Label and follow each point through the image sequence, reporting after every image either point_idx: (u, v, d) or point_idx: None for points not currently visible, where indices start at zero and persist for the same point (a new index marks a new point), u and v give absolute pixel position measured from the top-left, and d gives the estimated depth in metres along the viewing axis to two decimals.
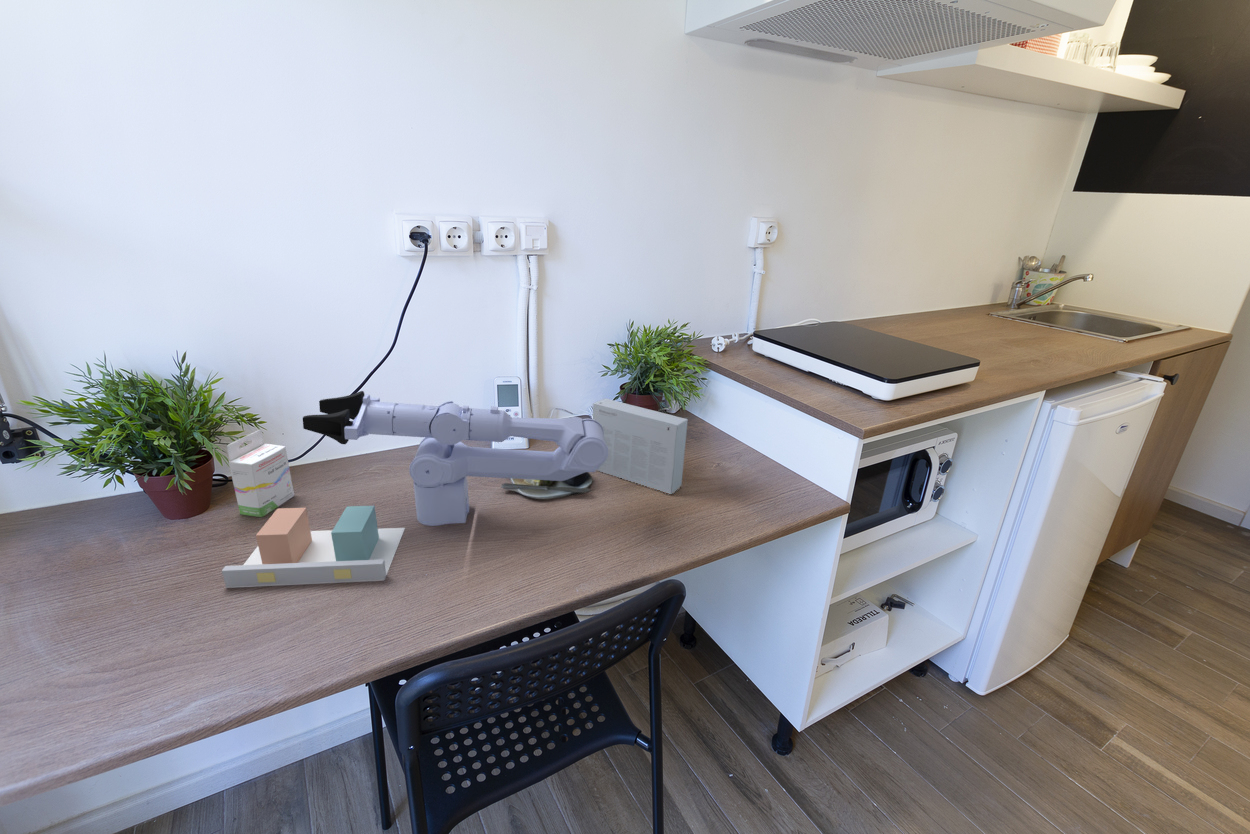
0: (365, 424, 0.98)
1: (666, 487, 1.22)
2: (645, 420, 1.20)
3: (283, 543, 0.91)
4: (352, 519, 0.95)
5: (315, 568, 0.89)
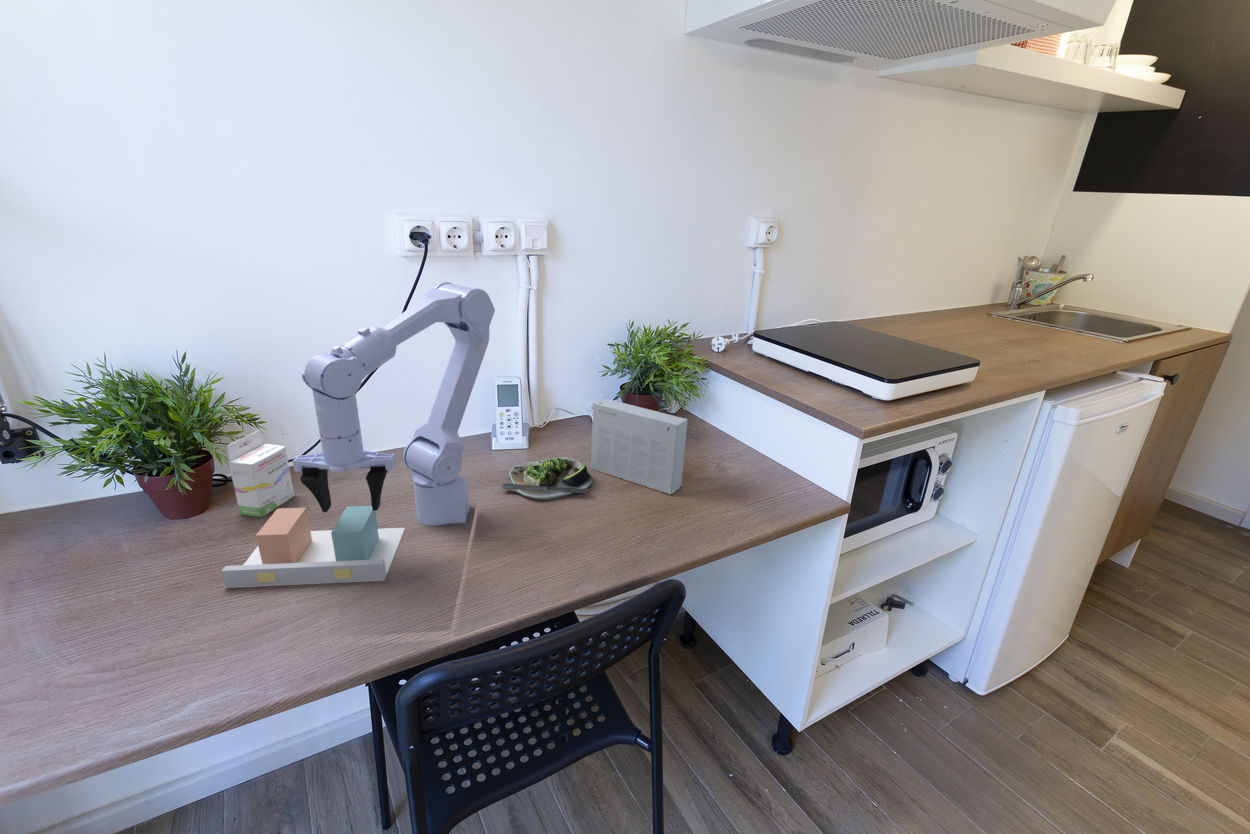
0: (363, 455, 0.92)
1: (666, 487, 1.22)
2: (645, 420, 1.20)
3: (283, 543, 0.91)
4: (352, 519, 0.95)
5: (315, 568, 0.89)
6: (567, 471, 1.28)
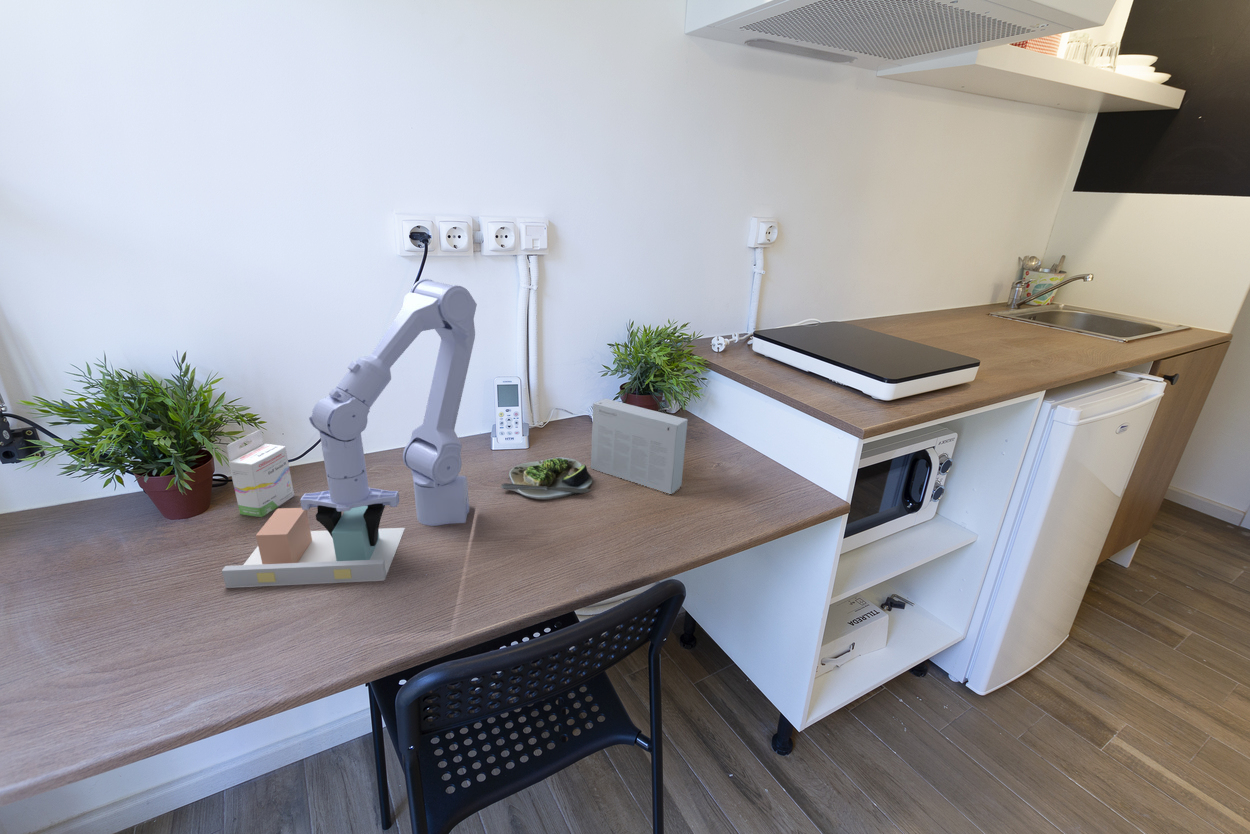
0: (368, 493, 0.94)
1: (666, 487, 1.22)
2: (645, 420, 1.20)
3: (283, 543, 0.91)
4: (353, 519, 0.95)
5: (315, 568, 0.89)
6: (567, 471, 1.28)
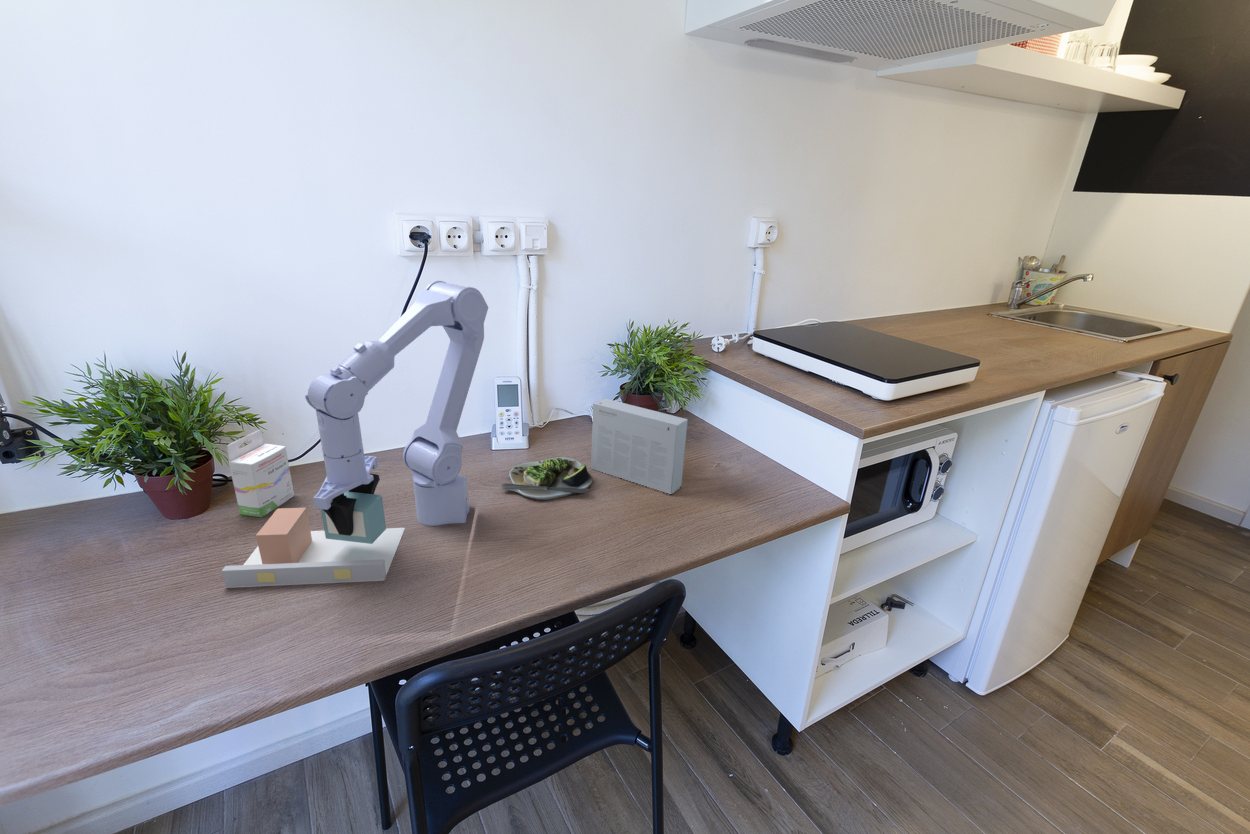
0: None
1: (666, 487, 1.22)
2: (645, 420, 1.20)
3: (283, 543, 0.91)
4: None
5: (315, 568, 0.89)
6: (567, 471, 1.28)
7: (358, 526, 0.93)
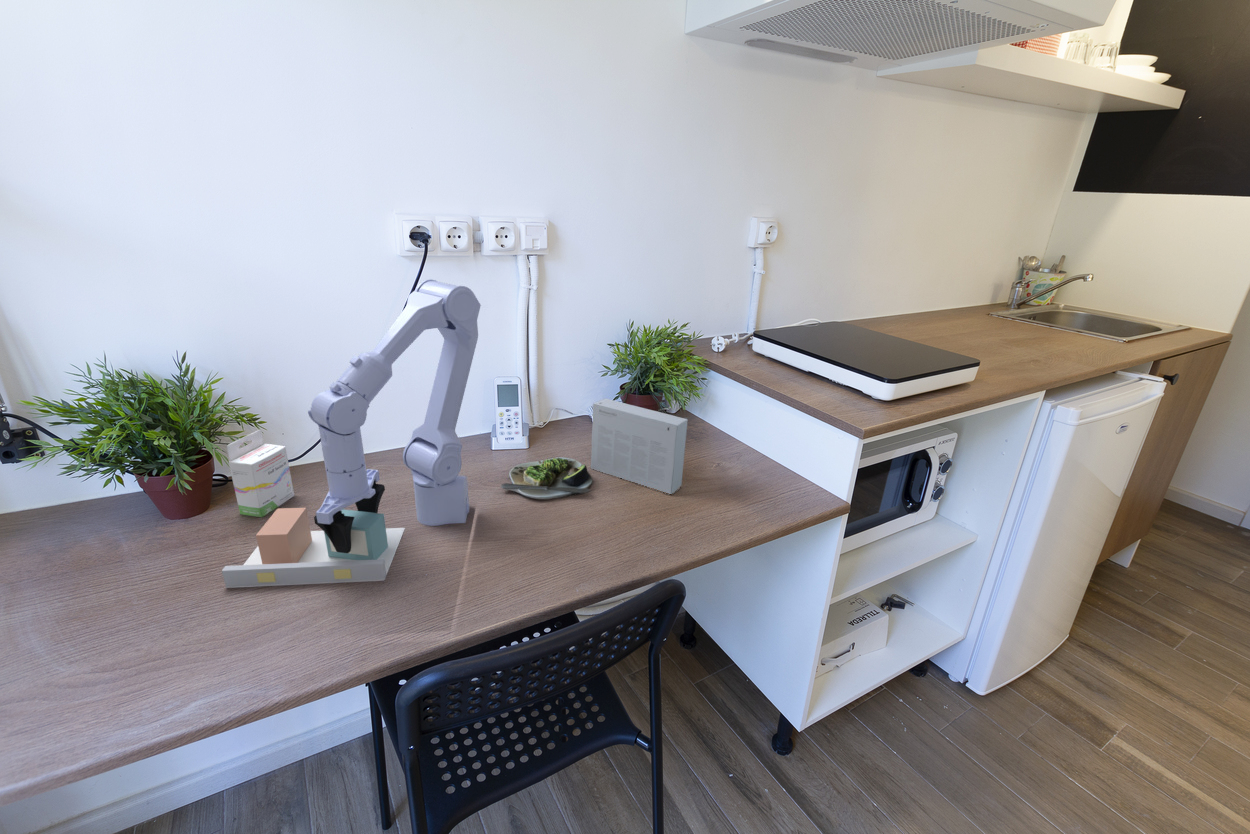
0: None
1: (666, 487, 1.22)
2: (645, 420, 1.20)
3: (283, 543, 0.91)
4: (354, 518, 0.95)
5: (315, 568, 0.89)
6: (567, 471, 1.28)
7: (360, 545, 0.94)
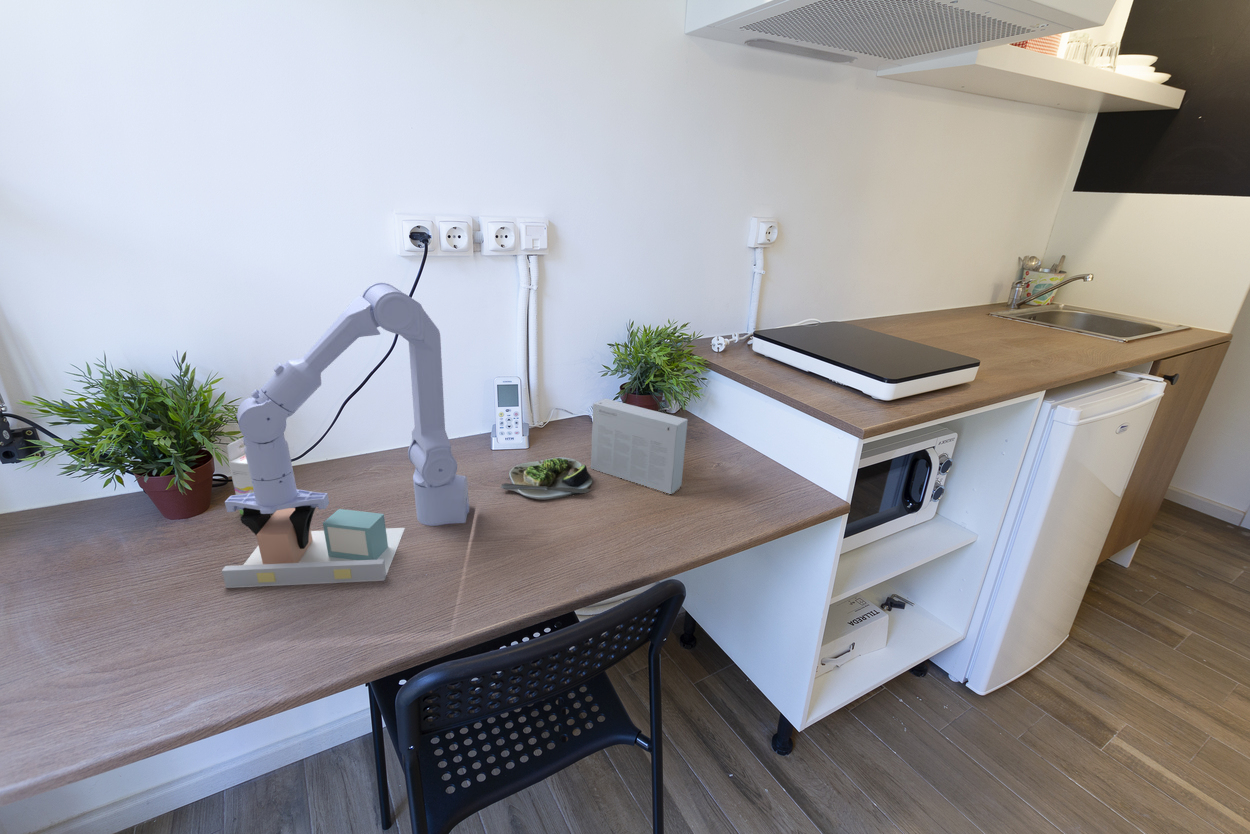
0: (296, 495, 0.93)
1: (666, 487, 1.22)
2: (645, 420, 1.20)
3: (283, 543, 0.91)
4: (354, 518, 0.95)
5: (315, 568, 0.89)
6: (567, 471, 1.28)
7: (360, 545, 0.94)
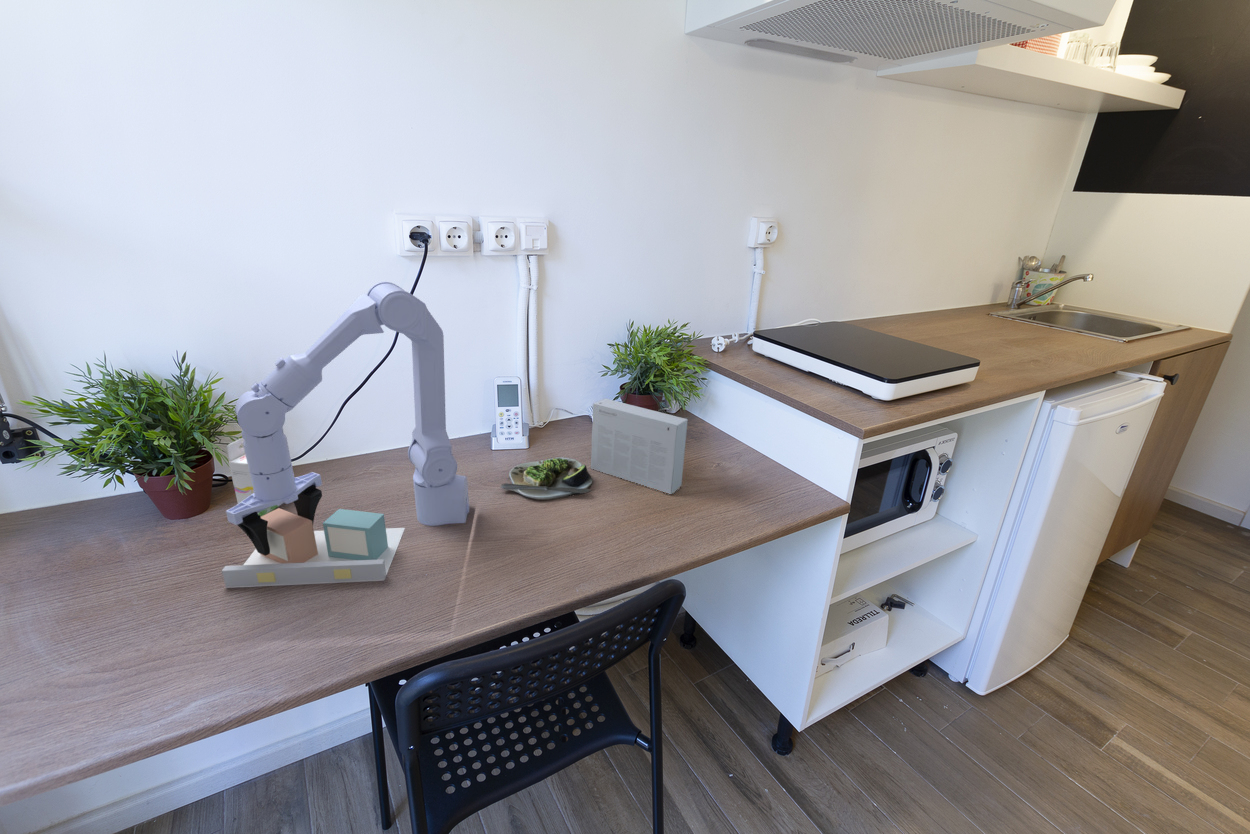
0: None
1: (666, 487, 1.22)
2: (645, 420, 1.20)
3: (309, 531, 0.94)
4: (354, 518, 0.95)
5: (315, 568, 0.89)
6: (567, 471, 1.28)
7: (360, 545, 0.94)
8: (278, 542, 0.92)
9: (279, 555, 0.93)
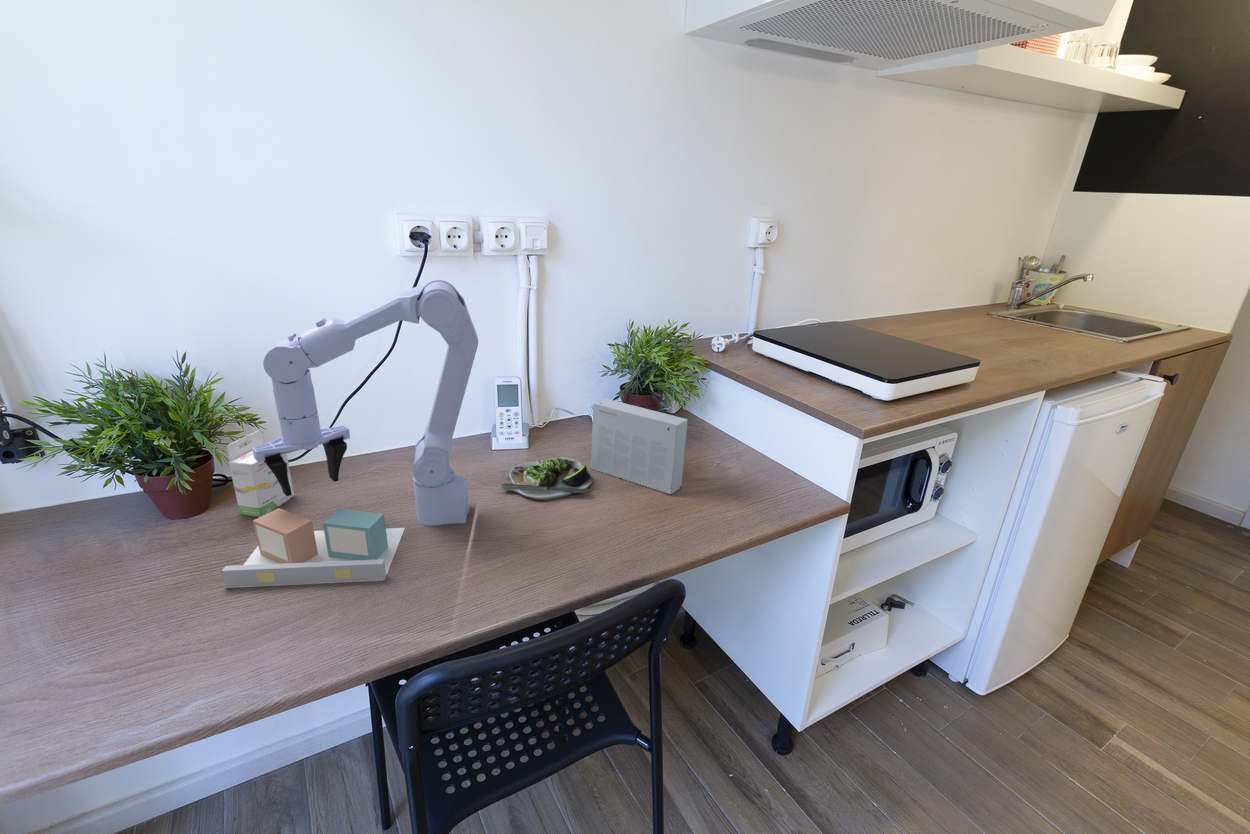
0: None
1: (666, 487, 1.22)
2: (645, 420, 1.20)
3: (309, 531, 0.94)
4: (354, 518, 0.95)
5: (315, 568, 0.89)
6: (567, 471, 1.28)
7: (360, 545, 0.94)
8: (278, 542, 0.92)
9: (279, 555, 0.93)
